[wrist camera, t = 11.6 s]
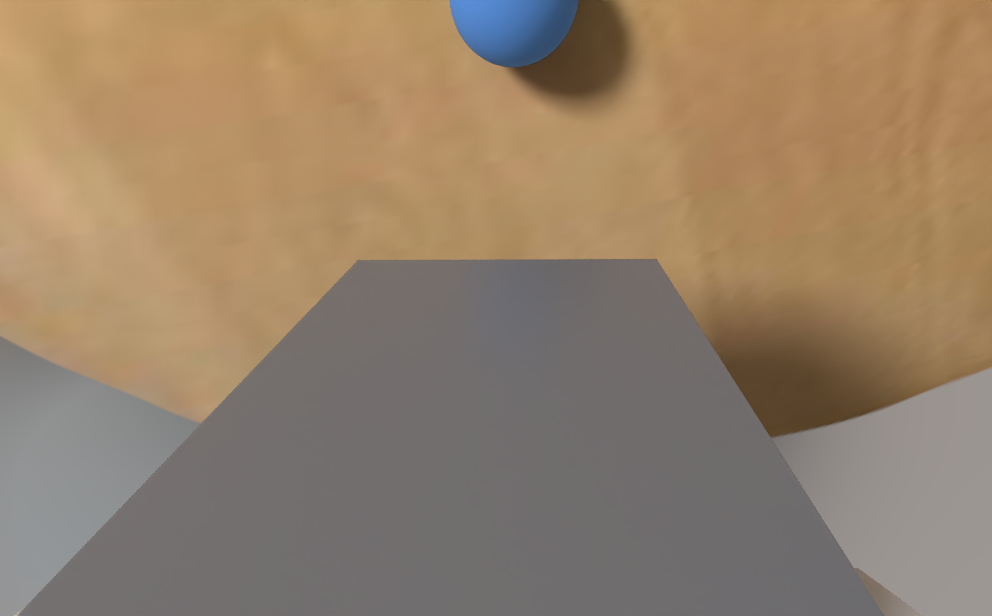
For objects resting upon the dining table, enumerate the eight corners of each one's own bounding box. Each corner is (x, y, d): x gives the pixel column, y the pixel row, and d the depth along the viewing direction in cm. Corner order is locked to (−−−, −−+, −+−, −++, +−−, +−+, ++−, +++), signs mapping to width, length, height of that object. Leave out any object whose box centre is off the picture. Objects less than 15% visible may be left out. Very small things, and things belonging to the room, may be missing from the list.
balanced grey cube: (656, 259, 12) (917, 666, 4) (631, 491, 15) (745, 998, 7) (358, 260, 12) (16, 616, 4) (392, 483, 15) (228, 941, 7)
